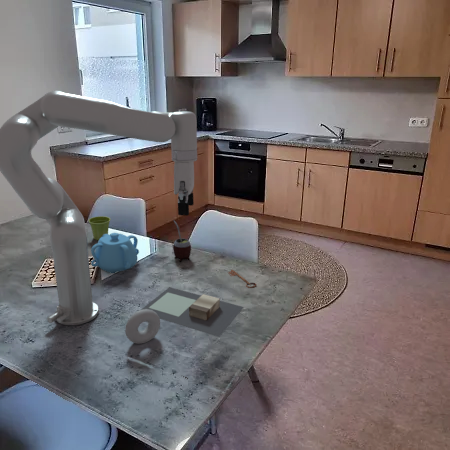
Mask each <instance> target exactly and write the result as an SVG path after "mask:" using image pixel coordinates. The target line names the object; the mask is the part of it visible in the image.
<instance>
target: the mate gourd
mask: <svg viewBox="0 0 450 450" xmlns="http://www.w3.org/2000/svg"><path fill="white" fill-rule="evenodd" d="M173 223H174V224H175V226H176V229H177V232H178V236H179V238H177V239H175V241H174V242H173V245H172V250H173V254H174V259H175V260H179V261H178V262H179V263H182V262H183V261H190V259H191V258H190V256H191V252H192V251H191V250H192V245H191V242H190V240H189V239H188V238H187V239H186V238H182V237H181V231H180V227H179V225H178V223H177V222H176V221H175V219H174V220H173Z"/></svg>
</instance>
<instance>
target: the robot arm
mask: <svg viewBox="0 0 450 450" xmlns="http://www.w3.org/2000/svg"><path fill="white" fill-rule="evenodd" d="M58 127H61V128H62V127H63V128H70V129H76V130H83V131H89V132H96V133H101V134H106V135H111V136H117V137H123V138H124V137H125V138H129V139H134V140H141V141H146V142H147V141H148V142H154V143H155V142H156V143H166V142H168V141H170V150H171V161H172V162H174V165H173V194H174V195H175V196H176V195H177V214H178V216H185V217H186V216H187V217H188V216H189V214H190V206H194V204H195V203H194V188H195V163H194V162H196V161H197V160H198V132H197V131H198V130H197V115H196V114H195V113H194V111H193V112H192V111H187V110H186V111H182V110H181V111H174V112H169V111H168V112H165V111H158V110H156V111H155V110H153V111H147V110H140V109H136V108H131V107H128V106H124V105H121V104H119V103H116V102H113V101H110V100H106V99H99V98H94V97H88V96H84V95H83V96H82V95H79V94H78V95H77V94H72V93H67V92H63V91H61V90H51V91H48V92H46V94H44V95H42V96H41V97H40V98H39V99H37V100H36V101H34V102H32V103H31V104H30V105H28V106H27V107H25V108H24V109H21V110H20V111H18V112H17V113H16V114H14V115H12V116H11V117H9V118H8V119H7V120H6V121H5V122H4V123H3V124H2V125H1V127H0V173H1V175H3V177H4V178H5V180H6V181H7V182H8V183H9V185H10V186H11V187H12V190H14V192H15V193H16V194H17V196H18V197H19V198H20V199H21V201H22V202H23V204H25V206H26V207H27V208H28V210H29V211H30V212H31V214H32V215H33V216H36V217H37V218H39V219H41V220H46V222H47V223H48V225H49V226H50V227H49V229H50V230H49V239H50V248H51V251H52V253H51V254H52V259H53V266H54V273H55V282H56V288H57V289H56V290H57V298H58V304H59V305H57V306H56V310H55V311H54V313H52V314H51V315H49V316H47V318H46V321H47V322H48V323H49V324H53V322H55V321H56V322H57V323H59V324H61V325H64V326H79V325H83V324H86V323H88V322H91V321H93V319H94V320H95V318H96V317H97V316H98V315H99V312H100V311H99V310H100V309H99V308H100V307H99V305H98V304H97V303H95V302H94V301H93V291H92V281H91V270H90V268H91V267H90V260H89V258H90V257H89V249H88V246H89V245H88V233H87V227H86V223H85V222H86V221H85V218H84V216H83V214H82V212H81V211H80V210H79V208H78V206H77V205H76V204H75V202H74V201H73V200H72V198H71V197H70V196H69V194H68V193H67V192H66V190H65V189H64V188H63V186H62V185H61V184H60V183H59V182H58V181H57V180H55V179H53V178H51V177H47V176H46V173H44V171H43V170H42V168H41V167H40V165H39V164H38V163H37V162H36V160H35V159H34V158H33V156H32V150H33V149H34V148H35V146H36V145H37V143H38V141H39V140H41V139H42V138H43V137H45V136H47V135H48V134H49V133H51V132H52V131H54V130H55V129H57V128H58Z"/></svg>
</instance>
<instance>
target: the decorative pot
mask: <svg viewBox="0 0 450 450" xmlns="http://www.w3.org/2000/svg"><path fill="white" fill-rule="evenodd" d="M131 239H133V242H132V240H131ZM137 246H138V237H137V236H135V235H133V234H131V235H128V236H127V235H125V234H121V233H118V232H112V233H110V234H109V233H108V234H104V235H103V236H102V237H101V238H100V239H99V240H97V243H95V244H94V245H92V247H91V249H90V252H91V253H90V254H91V255H92V257H93V259H92V260H91V262H90V264H91V266H92V267H94V268H95V267H98V268H100V269H101V270H102V271H105V272H107V273H109V274H110V275H111V274H116V273H120V272H123V271H127V270H130V269H132V268H133V267H134V266H135V265H136V264H137V263H138V255H139V253H140V251H139V249H138V248H137Z"/></svg>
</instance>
